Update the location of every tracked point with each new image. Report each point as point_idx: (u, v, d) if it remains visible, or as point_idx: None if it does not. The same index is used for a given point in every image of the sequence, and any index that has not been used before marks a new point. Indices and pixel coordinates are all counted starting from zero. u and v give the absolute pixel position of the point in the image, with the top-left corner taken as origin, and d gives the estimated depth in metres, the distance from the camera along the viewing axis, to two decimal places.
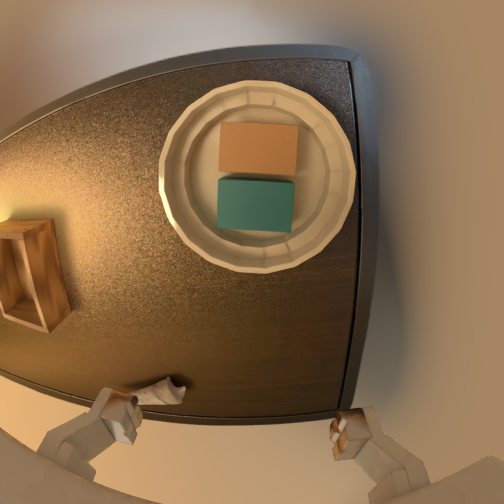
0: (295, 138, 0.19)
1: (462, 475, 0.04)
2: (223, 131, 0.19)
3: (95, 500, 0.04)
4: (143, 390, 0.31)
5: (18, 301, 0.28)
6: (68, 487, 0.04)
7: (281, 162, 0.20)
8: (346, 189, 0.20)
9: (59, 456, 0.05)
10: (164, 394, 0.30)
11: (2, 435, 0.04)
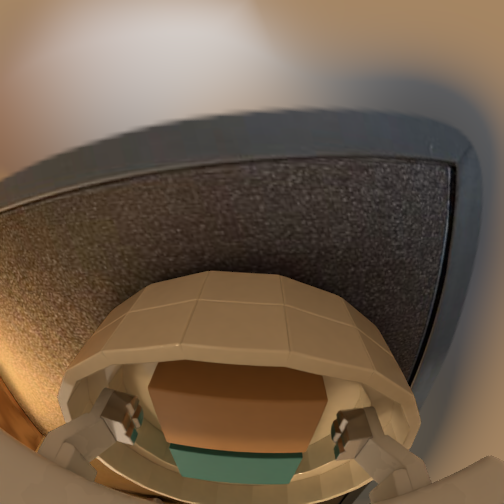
0: (315, 418, 0.08)
1: (462, 475, 0.04)
2: (158, 403, 0.08)
3: (95, 501, 0.04)
4: None
5: None
6: (68, 487, 0.04)
7: (280, 444, 0.09)
8: None
9: (60, 456, 0.05)
10: None
11: (2, 435, 0.04)
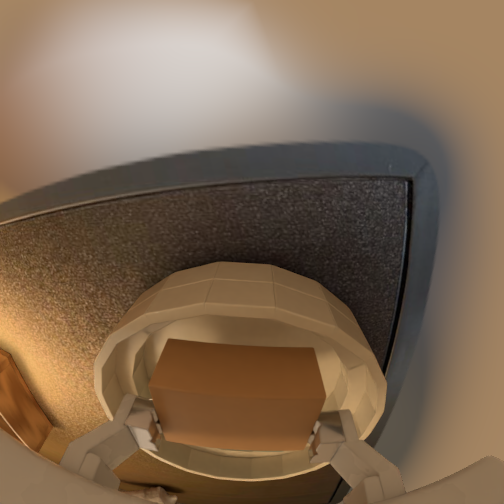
0: (314, 415, 0.08)
1: (462, 475, 0.04)
2: (158, 401, 0.08)
3: (94, 500, 0.04)
4: (136, 494, 0.22)
5: None
6: (68, 487, 0.04)
7: (279, 442, 0.09)
8: (364, 421, 0.12)
9: (85, 468, 0.05)
10: None
11: (2, 435, 0.04)
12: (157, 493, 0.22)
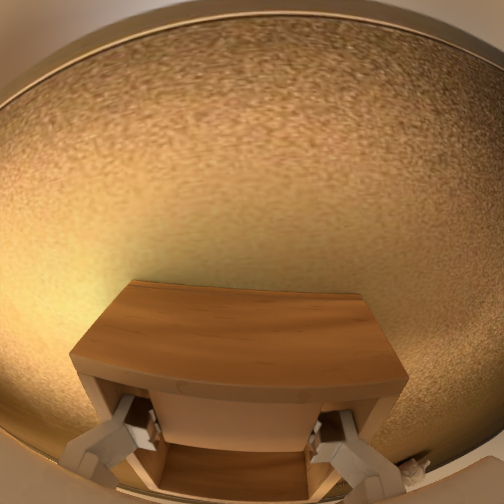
0: (313, 417, 0.08)
1: (462, 475, 0.04)
2: (157, 402, 0.08)
3: (95, 501, 0.04)
4: None
5: (166, 447, 0.14)
6: (68, 487, 0.04)
7: (278, 443, 0.09)
8: None
9: (83, 467, 0.05)
10: (418, 478, 0.16)
11: (2, 435, 0.04)
12: (417, 466, 0.17)
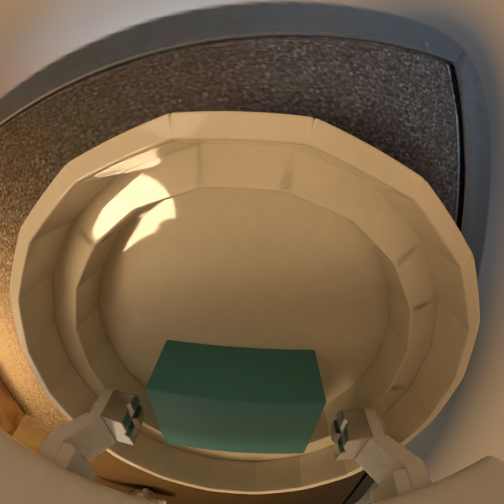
0: None
1: (462, 475, 0.04)
2: None
3: (95, 501, 0.04)
4: None
5: None
6: (68, 487, 0.04)
7: None
8: (429, 397, 0.07)
9: (60, 457, 0.05)
10: None
11: (2, 435, 0.04)
12: (143, 496, 0.18)
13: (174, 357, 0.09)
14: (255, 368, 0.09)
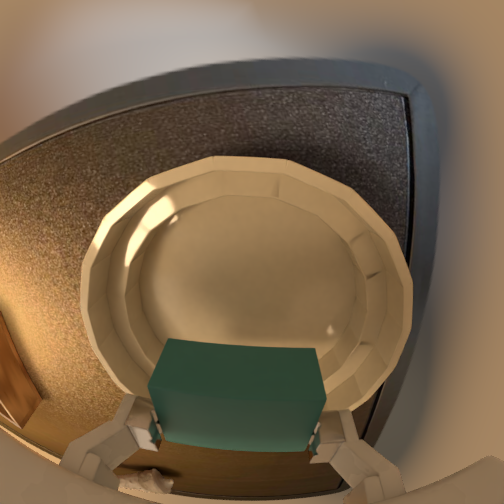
0: None
1: (462, 475, 0.04)
2: None
3: (95, 501, 0.04)
4: (129, 478, 0.21)
5: None
6: (68, 487, 0.04)
7: None
8: (388, 347, 0.11)
9: (85, 468, 0.05)
10: (151, 487, 0.20)
11: (2, 435, 0.04)
12: (151, 476, 0.22)
13: (175, 355, 0.09)
14: (256, 366, 0.09)
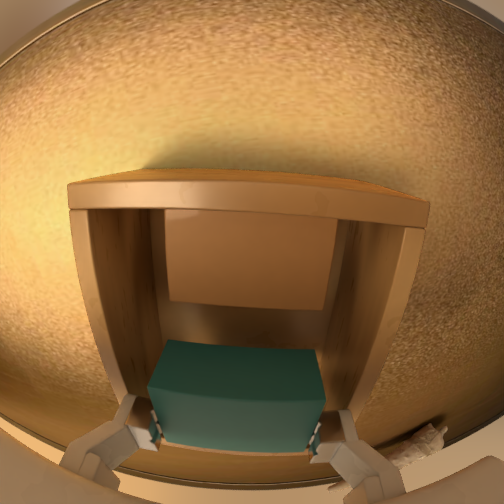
0: (330, 237, 0.09)
1: (462, 475, 0.04)
2: (170, 221, 0.09)
3: (95, 500, 0.04)
4: (403, 453, 0.17)
5: None
6: (68, 487, 0.04)
7: (295, 288, 0.10)
8: None
9: (85, 468, 0.05)
10: (436, 445, 0.16)
11: (2, 435, 0.04)
12: (434, 431, 0.17)
13: (175, 356, 0.09)
14: (256, 367, 0.09)
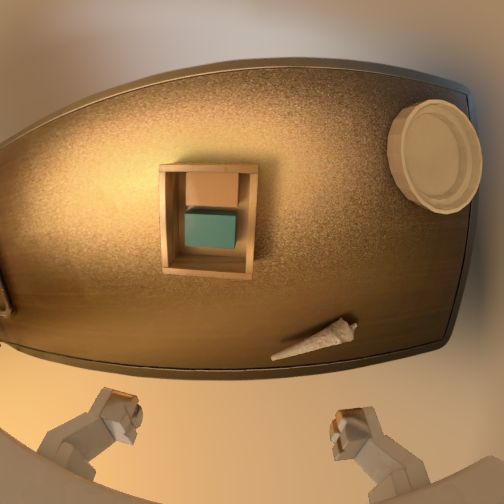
0: (236, 181, 0.29)
1: (462, 475, 0.04)
2: (188, 178, 0.29)
3: (95, 500, 0.04)
4: (320, 333, 0.37)
5: (175, 256, 0.34)
6: (68, 487, 0.04)
7: (226, 198, 0.30)
8: (477, 170, 0.26)
9: (59, 456, 0.05)
10: (345, 331, 0.36)
11: (2, 435, 0.04)
12: (343, 321, 0.37)
13: (193, 210, 0.32)
14: (217, 211, 0.32)
